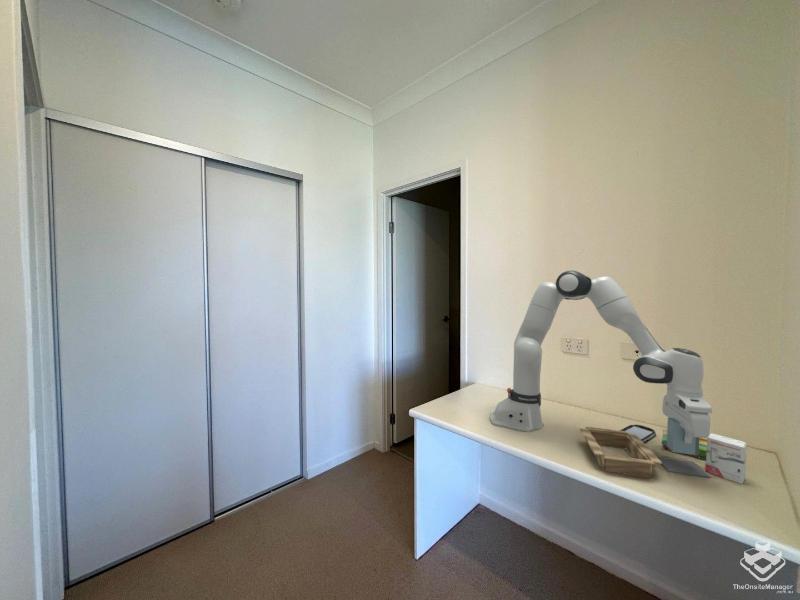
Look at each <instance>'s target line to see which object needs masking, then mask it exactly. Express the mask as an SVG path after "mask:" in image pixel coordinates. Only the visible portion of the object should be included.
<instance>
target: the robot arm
mask: <svg viewBox="0 0 800 600" xmlns="http://www.w3.org/2000/svg"><path fill="white" fill-rule="evenodd" d="M585 298H587V299H589V300H590V302H591V303H592V304H593V306H594V307H595V309H596V311H597V312H598V314H599V316H600V317H601V318H602V319H603V321H605V323H606V324H607V325H608V326H611V327H613V328H616V329H618V330H621V331H622V332H624V333H625V334H627V336H629V338H630V339H631V341H632V342H633V343H634V345H635V347H636V348H637V350H638V351H639V353H640V354H641V356H640V357H638V358H637V359H636V360H635V361H634V363H633V366H632V370H633V372H634V375H635V376H636V377H637V378H638V379H640V380H641V382H645V383H648V384H666V395H664V396H663V399H662V413H663V415H664V416H666V417H667V418H674V419H675V420H677V421H678V422H679V423H680V427H682V428H683V429H684V430H685V436H683V441H684V442H685V443H689V444H691V443H692V438H693V437H699V438H703V439H707V437H708V436H709V434H710V430H711V417H710V416H711V415H710V414H712V412H713V407H712V405H710V403H708V401H707V400H706V398H705V397H704V396H703V395H704V394H703V393H704V390H703V387H702V383H703V381H704V363H703V358H702V356H701V355H700V354H699V353H697V352H695V351H692V350H690V349H686V348H680V347H673V348H671V349H668V350H665V349H663V348H662V347H661V346H660V345H659V343H658V342H657V341H656V339H655V337H654V336H653V335H652V334H651V332H650V331H649V329H648V328H647V327H646V325H645V324H644V323H643V321H642V319H641V318H640V316H639V314H638V313H637V311H636V309H635V307H634V305H633V303H632V302H631V300H630V298H629V296H628V295H627V294H626V292H625V291H624V289H623V288H622V287H621V286H620V284H618V282H617V281H616V280H614V279H613V278H612V277H611V276H607V275H605V276H598V277H596V278H594V279H593V278H590V277H589V276H588V275H586V274H584V273H582V272H580V271H577V270H566V271H563V272H562V273H560V274H559V275H558V276H557V279H556V280H555V282H551V281H545V282H544V281H543V282H542V283H540V284H539V285H538V287H537V288H536V290H535V292H534V293H533V296H532V297H531V300H530V303H529V306H528V307H527V311H526V313H525V315H524V318H523V320H522V323H521V325H520V328H519V330H518V332H517V335H516V338H515V340H514V343H513V370H512V371H513V373H512V374H513V377H512V378H513V381H512V388H511V387H507V389H506V392H507V396H508V397H507V398H505V399H503V400H501V401H499V402H498V403H497V404H496V407H495V408H494V411H492V412H491V413H490V414H489V421H490V422H491V424H493V425H494V426H498V427H502V428H508V429H513V430H519V431H523V432H528V433H529V432H532V431H534V430H540V429H542V428H543V426H544V423H543V418H542V413H541V405H542V395H541V371H542V361H543V360H542V359H543V357H542V356H543V349H542V345H543V342H544V340H545V338H546V336H547V334H548V332H549V330H550V329H551V326H552V323H553V322H554V319H555V316H556V315H557V311H558V310H559V309H558V308H559V307H560V304H561V302H562V301H563V300H570V301H571V300H573V301H577V300H584V299H585Z"/></svg>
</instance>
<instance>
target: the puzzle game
mask: <svg viewBox="0 0 800 600" xmlns="http://www.w3.org/2000/svg"><path fill="white" fill-rule="evenodd" d="M662 432H663V433H662V441H661V443H662V445H663V447H664V449H665V450H667V449H668V450H667V451H671V450H670V449H669V448H668V447H667V429H663V431H662ZM706 453H707V438H699V455H693V454H687V455H688V456H690V455H691V457H694V456H695V458H698V457H700V458H699V459H702V458H703V459H702V460H706ZM682 454H683V455H686V454H685V453H682Z"/></svg>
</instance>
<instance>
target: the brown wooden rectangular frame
mask: <svg viewBox="0 0 800 600" xmlns="http://www.w3.org/2000/svg"><path fill="white" fill-rule="evenodd" d="M579 431H580V432H581V434H582V435H583V438H584V439H585V441H586V444H587V446H588V447H589V450H590V451H591V453H592V454H593V457H594V458H595V460H596V461H597V464H598V465H599V467H600V466H601V467H600V468H601V471H603V470H605V471H604V472H610V471H611V473H616V472H617V474H623V473H626V474H625V475H629V474H630V476H635V477H636V476H637V477H638V476H639V477H643V478H650V479H652V477H653V467H656V464H660V465H661V464H662V462H661V461H660V460H659V459H658V458H657V457H658V456H657V455H655V454H654V452H653V451H652V450H651V449H650V448H649V447H648V446H647V445H646V444H645V442H644V443H643V442H642V441H641V440H640V439H639V438H638V437H637V435H635V434H628V433H627V432H626V431H620V430H617V429H608V428H603V427H602V428H599V427H592V426H585V428H584V427H580V428H579ZM603 446H604V447H610V448H618V449H624V450H626V451H627V453H628V454H629V455H630V456H631V457H627V456H619V455H612V454H605V452H604V451H603V449H602V448H601V447H603Z"/></svg>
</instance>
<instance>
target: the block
mask: <svg viewBox="0 0 800 600" xmlns="http://www.w3.org/2000/svg"><path fill="white" fill-rule="evenodd" d="M666 430H667V447H668V448H669V449H670V450H669V451H671V452H672V453H678V454H683V453H685V454H684V455H686V454H693V455H699V437H693V438H692V443H691V444H689V443H685V442H684V441H683V436H685V430H684V429H683V428H682V427H680V423H679V422H678V421H677V420H675V419H674V418H669V417H667V427H666Z"/></svg>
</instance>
